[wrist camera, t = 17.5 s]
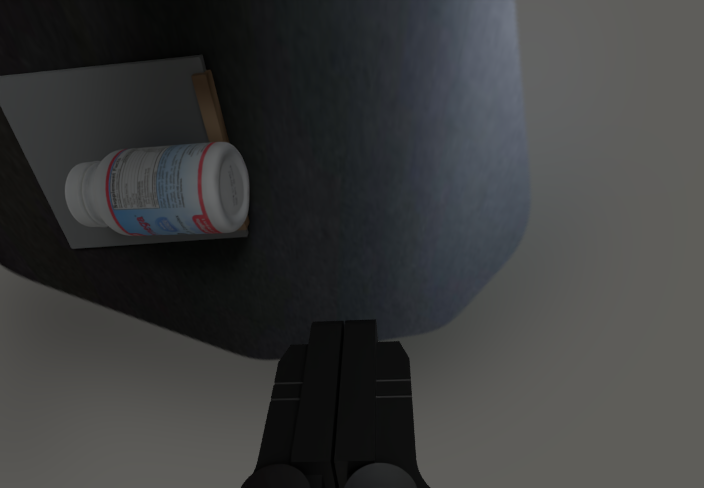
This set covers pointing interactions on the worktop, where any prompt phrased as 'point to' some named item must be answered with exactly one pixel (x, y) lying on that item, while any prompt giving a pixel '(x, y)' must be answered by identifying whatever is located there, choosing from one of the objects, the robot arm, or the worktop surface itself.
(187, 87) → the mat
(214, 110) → the bar
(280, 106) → the worktop surface
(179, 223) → the pill bottle
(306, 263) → the worktop surface
